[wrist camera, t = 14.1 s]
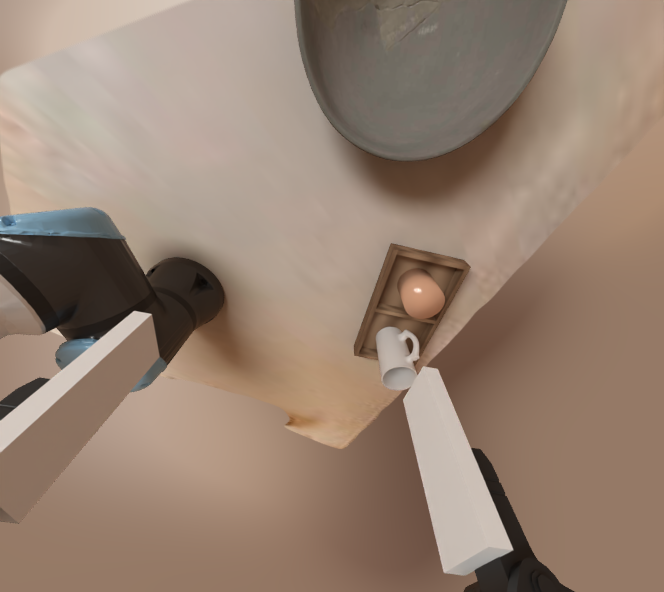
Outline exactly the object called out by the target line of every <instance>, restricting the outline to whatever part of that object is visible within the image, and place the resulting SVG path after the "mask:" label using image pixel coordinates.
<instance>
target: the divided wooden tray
mask: <svg viewBox="0 0 664 592" xmlns="http://www.w3.org/2000/svg"><path fill="white" fill-rule="evenodd" d="M414 268H421V269H425V270H427V271H428V272H429V273H430V274H431V276H432V277H433V279H434V280H435V282H436V283H437V285H438V286H439V288H440V289H441V291H442V292H443V294H444V296H445V303H444V306H443V308H442V309H441V310H440V312H438V313H437V314H436V315H434V316H432V317H430V318H426V319H417V318H414V317H411V316H410V315H409V314H408V313H407V312H406V310H405V308H404V305H403V302H402V300H401V297H400V295H399V292H398V289H397V282H398V280H399V278H400V276H401V275H402V274H403V273H405V272H406V271H408V270H410V269H414ZM470 268H471V267H470V266H469V265H468V264H467V263H466V262H465V261H464V260H461V259H457V258H453V257H448V256H444V255H440V254H435V253H431V252H427V251H422V250H418V249H414V248H409V247H405V246H401V245H396V244H392V243H391V245H390V247H389V250H388V253H387V256H386V258H385V261H384V264H383V267H382V269H381V272H380V275H379V278H378V281H377V283H376V286H375V289H374V292H373V294H372V297H371V300H370V303H369V305H368V308H367V311H366V314H365V317H364V319H363V322H362V325H361V328H360V330H359V333H358V336H357V339H356V341H355V344H354V356H360V357H365V358H370V359H376V360H378V352H377V345H376V335H377V333H378V332H379V331H380V330H381V329H383V328H386V327H396V328H398V329H399V330H401V332H403V331H404V330H408V331H410V332H411V333H413V334H414V335H415V336H416V337H417V339H418V342H419V357H420V356H421V355H422V353H423V351H424V349H425V347H426V346H427V344H428V342H429V340H430V339H431V337H432V335H433V333H434V331H435V330H436V328H437V326H438V324H439V323H440V321H441V319H442V317H443V315H444V314H445V312H446V310H447V308H448V307H449V305H450V303H451V301H452V300H453V298H454V296H455V294H456V292H457V291H458V289H459V287H460V285H461V284H462V282H463V280H464V278H465V276H466V275H467V273H468V271H469V269H470ZM405 341H406V344H407V347H408V350H409V352H410V354H411V353H412V351H413V341H412V340H411V338H407V339H406V340H405ZM418 360H419V359H417V360H416V361H413V364H414V366H415V365H416V363H417V362H418Z"/></svg>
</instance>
